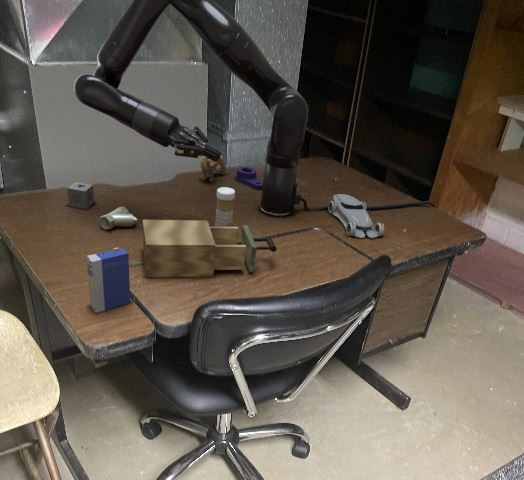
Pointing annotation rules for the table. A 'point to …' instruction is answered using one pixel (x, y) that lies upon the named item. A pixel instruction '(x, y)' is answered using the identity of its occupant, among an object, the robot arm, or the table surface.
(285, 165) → the robot arm
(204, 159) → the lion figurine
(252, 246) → the drawer
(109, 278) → the walkman
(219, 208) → the sprinkles bottle
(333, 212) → the car model
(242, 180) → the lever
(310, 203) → the table surface
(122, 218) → the pipe fitting
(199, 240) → the cabinet
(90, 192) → the dice cube
